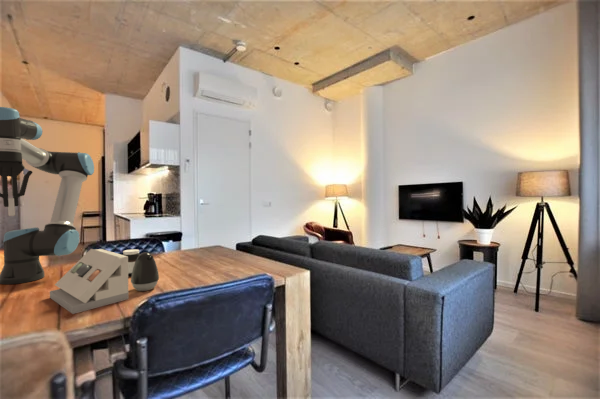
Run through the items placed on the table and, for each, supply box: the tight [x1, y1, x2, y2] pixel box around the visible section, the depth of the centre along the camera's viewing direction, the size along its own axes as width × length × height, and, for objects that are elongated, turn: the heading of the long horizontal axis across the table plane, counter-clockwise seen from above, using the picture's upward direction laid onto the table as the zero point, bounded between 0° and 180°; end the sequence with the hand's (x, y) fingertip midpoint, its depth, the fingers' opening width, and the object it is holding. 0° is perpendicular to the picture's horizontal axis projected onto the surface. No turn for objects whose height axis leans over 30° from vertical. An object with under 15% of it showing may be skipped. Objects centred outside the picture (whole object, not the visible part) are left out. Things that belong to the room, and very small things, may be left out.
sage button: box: [72, 263, 83, 273], centre depth 114 cm, size 4×4×4 cm
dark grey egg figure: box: [130, 252, 160, 292], centre depth 121 cm, size 10×10×15 cm
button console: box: [49, 248, 129, 315], centre depth 110 cm, size 25×17×17 cm
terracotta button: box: [89, 270, 101, 281], centre depth 104 cm, size 4×4×4 cm
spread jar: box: [122, 249, 141, 277], centre depth 142 cm, size 12×11×12 cm
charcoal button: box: [76, 264, 91, 277], centre depth 108 cm, size 4×4×4 cm
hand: (11, 215), depth 108 cm, fingers closed
